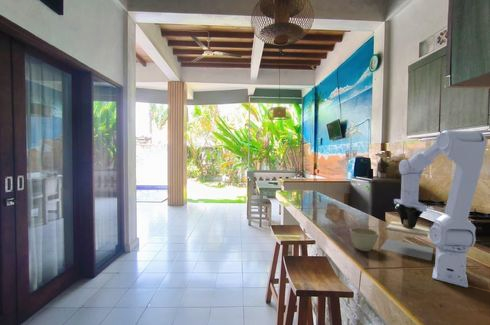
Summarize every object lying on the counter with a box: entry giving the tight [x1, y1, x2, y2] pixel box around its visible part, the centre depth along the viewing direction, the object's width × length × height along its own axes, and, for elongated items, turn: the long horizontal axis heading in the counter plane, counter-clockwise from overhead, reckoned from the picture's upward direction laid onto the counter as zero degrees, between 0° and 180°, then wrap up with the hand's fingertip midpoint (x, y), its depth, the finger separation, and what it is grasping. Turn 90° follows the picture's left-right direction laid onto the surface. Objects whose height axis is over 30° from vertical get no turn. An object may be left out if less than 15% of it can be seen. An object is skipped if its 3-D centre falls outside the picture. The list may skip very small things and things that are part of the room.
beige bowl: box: [349, 227, 379, 252], centre depth 98 cm, size 10×10×7 cm
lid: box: [385, 219, 431, 238], centre depth 99 cm, size 13×13×4 cm
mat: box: [379, 238, 434, 261], centre depth 99 cm, size 16×16×1 cm
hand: (408, 225), depth 99 cm, fingers closed on lid, 3 cm apart
